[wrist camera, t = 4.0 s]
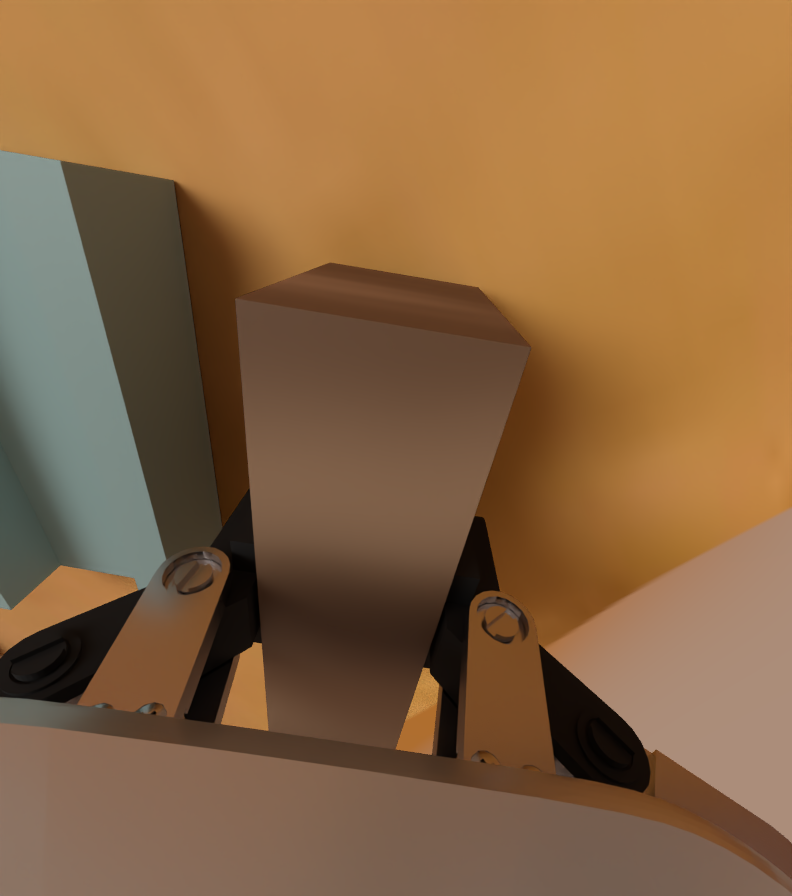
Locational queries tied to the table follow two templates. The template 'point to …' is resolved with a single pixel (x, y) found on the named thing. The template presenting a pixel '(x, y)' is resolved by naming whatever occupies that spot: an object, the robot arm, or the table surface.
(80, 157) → the table surface
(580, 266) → the table surface
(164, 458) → the grey-blue channel block
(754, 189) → the table surface
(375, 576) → the walnut strip
